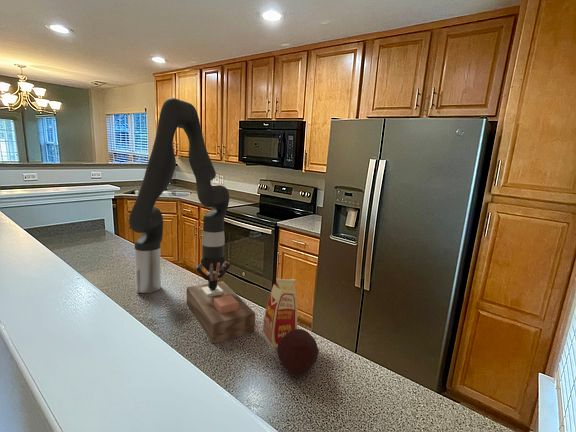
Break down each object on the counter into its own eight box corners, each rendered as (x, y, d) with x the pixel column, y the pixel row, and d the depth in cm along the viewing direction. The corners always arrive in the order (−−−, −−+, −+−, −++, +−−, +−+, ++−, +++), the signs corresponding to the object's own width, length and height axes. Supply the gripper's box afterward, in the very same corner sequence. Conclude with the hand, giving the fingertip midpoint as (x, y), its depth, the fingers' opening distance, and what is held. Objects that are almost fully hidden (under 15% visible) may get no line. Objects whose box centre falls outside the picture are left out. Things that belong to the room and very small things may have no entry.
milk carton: (273, 348, 93) (277, 285, 89) (261, 332, 101) (264, 273, 97) (299, 341, 97) (304, 281, 94) (286, 326, 105) (290, 270, 102)
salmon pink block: (220, 318, 98) (220, 306, 97) (213, 309, 103) (213, 298, 102) (237, 313, 101) (238, 302, 101) (230, 306, 106) (231, 295, 106)
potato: (314, 354, 91) (317, 321, 89) (319, 387, 78) (323, 350, 76) (276, 352, 91) (278, 320, 89) (275, 385, 78) (277, 348, 76)
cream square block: (206, 304, 109) (206, 294, 108) (201, 297, 114) (201, 287, 113) (222, 301, 112) (223, 291, 112) (217, 294, 117) (217, 284, 116)
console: (212, 343, 93) (212, 323, 92) (186, 303, 116) (186, 287, 115) (254, 331, 101) (255, 313, 100) (222, 296, 124) (222, 281, 123)
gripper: (227, 238, 116) (225, 282, 119) (191, 241, 109) (191, 288, 112) (235, 243, 110) (233, 290, 113) (197, 247, 102) (197, 297, 106)
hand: (212, 289), depth 112 cm, fingers closed
